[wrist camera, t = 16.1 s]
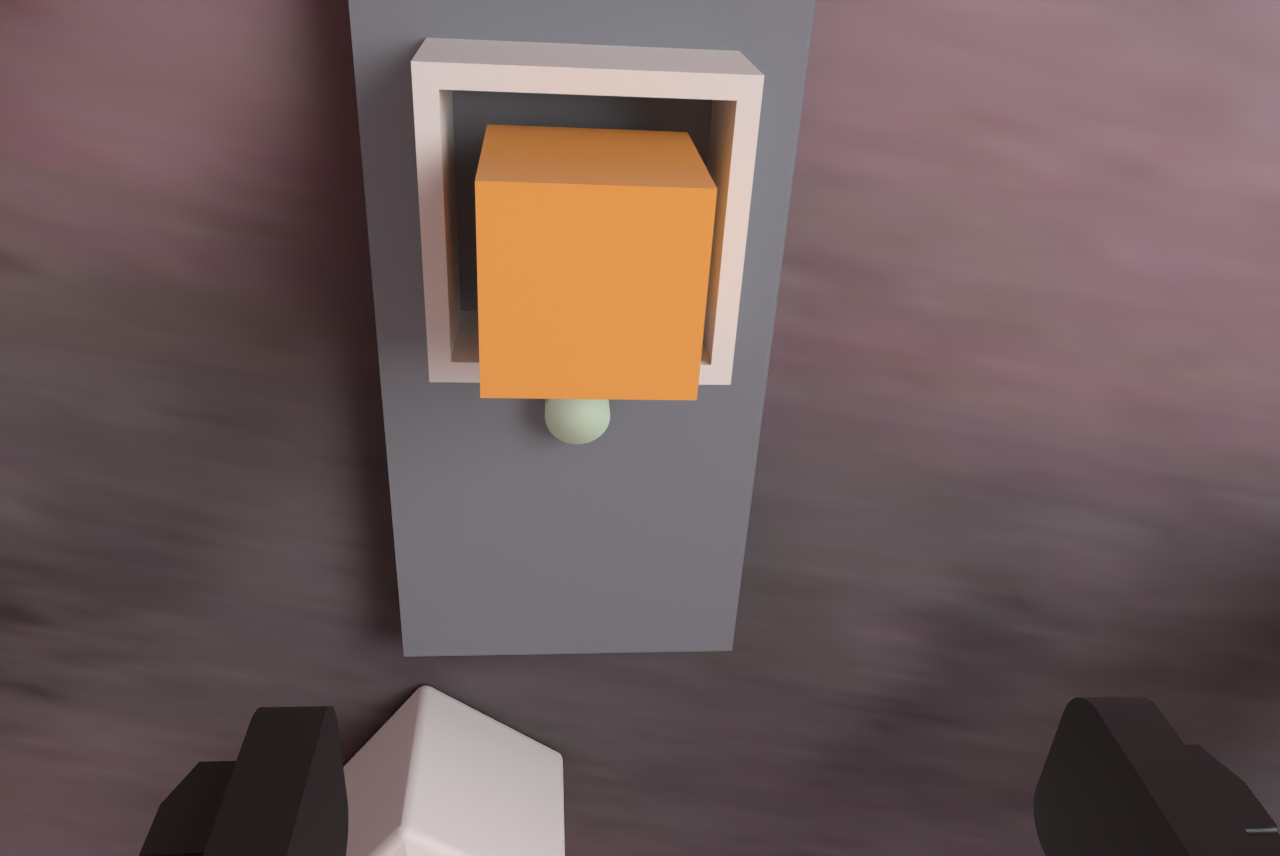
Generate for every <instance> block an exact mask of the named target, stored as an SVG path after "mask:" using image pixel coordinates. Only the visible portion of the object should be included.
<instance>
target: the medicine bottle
mask: <svg viewBox="0 0 1280 856" xmlns="http://www.w3.org/2000/svg"><path fill="white" fill-rule="evenodd" d="M343 769H344V777H345V785H346V792H347V800H348V840H347V850H346V856H565V843H564V796H563V760H562V756H561V754H559V753H558V752H556V751H554V750H552V749H550V748H549V747H547V746H545V745H543V744H541V743H539V742H537V741H535V740H533V739H531V738H529V737H527V736H525V735H523V734H521V733H520V732H518V731H516V730H514V729H512V728H510V727H508V726H506V725H504V724H502V723H500V722H498V721H496V720H494V719H493V718H491V717H489V716H487V715H485V714H483V713H481V712H479V711H477V710H475V709H473V708H471V707H469V706H467V705H465V704H464V703H462V702H460V701H458V700H456V699H454V698H452V697H450V696H448V695H446V694H444V693H442V692H440V691H438V690H436V689H435V688H433V687H431V686H427V685H425V686H421V687H419V688H418V689H417V690H416V691H415V692H414V693H413V694H412V696H411V697H410V698H409V699H408V700H407V701H406V702H405V703H404V704H403V705H402V706H401V707H400V708H399V709H398V710H397V711H396V712H395V713H394V714H393V715H392V717H391V718H390V719H389V720H388V721H387V722H386V723H385V724H384V725H383V726H382V727H381V728H380V729H379V730H378V731H377V732H376V733H375V734H374V735H373V736H372V737H371V739H370V740H369V741H368V742H367V743H366V744H365V745H364V746H363V747H362V748H361V749H360V750H359V751H358V752H357V753H356V754H355V755H354V756H353V757H352V758H351V760H350V761H349V762H348V763H347V764H346V765H345V766H344V767H343Z"/></svg>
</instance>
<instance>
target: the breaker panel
mask: <svg viewBox="0 0 1280 856" xmlns="http://www.w3.org/2000/svg"><path fill="white" fill-rule="evenodd" d="M348 2H349V14H350V26H351V38H352V50H353V61H354V73H355V85H356V97H357V109H358V120H359V132H360V144H361V156H362V168H363V179H364V191H365V203H366V215H367V227H368V238H369V250H370V262H371V274H372V286H373V298H374V309H375V321H376V333H377V345H378V357H379V368H380V380H381V392H382V404H383V416H384V427H385V439H386V451H387V463H388V475H389V486H390V498H391V510H392V522H393V534H394V545H395V557H396V569H397V581H398V593H399V604H400V616H401V628H402V640H403V652H404V657H411V656H467V655H523V654H579V653H635V652H691V651H732V646H733V638H734V631H735V623H736V615H737V608H738V600H739V592H740V584H741V577H742V569H743V561H744V553H745V546H746V538H747V530H748V522H749V515H750V507H751V499H752V491H753V484H754V476H755V468H756V461H757V453H758V445H759V437H760V430H761V422H762V414H763V406H764V399H765V391H766V383H767V375H768V368H769V360H770V352H771V344H772V337H773V329H774V321H775V313H776V306H777V298H778V290H779V283H780V275H781V267H782V259H783V252H784V244H785V236H786V228H787V221H788V213H789V205H790V197H791V190H792V182H793V174H794V166H795V159H796V151H797V143H798V136H799V128H800V120H801V112H802V105H803V97H804V89H805V81H806V74H807V66H808V58H809V50H810V43H811V35H812V27H813V19H814V12H815V4H816V0H348ZM487 124H492V125H518V126H544V127H570V128H596V129H621V130H647V131H673V132H688V134H689V136H690V138H691V140H692V142H693V143H694V145H695V147H696V149H697V151H698V153H699V155H700V157H701V159H702V161H703V162H704V164H705V166H706V168H707V170H708V172H709V174H710V176H711V178H712V179H713V181H714V183H715V185H716V187H717V198H716V209H715V219H714V229H713V240H712V250H711V260H710V271H709V281H708V292H707V302H706V312H705V323H704V333H703V343H702V354H701V364H700V374H699V385H698V395H697V400H612V399H523V398H480V368H479V327H478V287H477V247H476V206H475V178H476V173H477V169H478V164H479V159H480V155H481V150H482V145H483V141H484V136H485V132H486V127H487Z"/></svg>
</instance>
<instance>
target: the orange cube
mask: <svg viewBox="0 0 1280 856" xmlns="http://www.w3.org/2000/svg"><path fill="white" fill-rule="evenodd" d="M716 198H717V187H716V185H715V183H714V181H713V179H712V178H711V176H710V174H709V172H708V170H707V168H706V166H705V164H704V162H703V161H702V159H701V157H700V155H699V153H698V151H697V149H696V147H695V145H694V143H693V142H692V140H691V138H690V136H689V134H688V132H673V131H647V130H621V129H596V128H570V127H544V126H518V125H492V124H487V127H486V132H485V136H484V141H483V145H482V150H481V155H480V159H479V164H478V169H477V173H476V178H475V206H476V247H477V287H478V327H479V368H480V398H523V399H612V400H697V395H698V385H699V374H700V364H701V354H702V343H703V333H704V323H705V312H706V302H707V292H708V281H709V271H710V260H711V250H712V240H713V229H714V219H715V209H716Z"/></svg>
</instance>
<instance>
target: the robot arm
mask: <svg viewBox="0 0 1280 856" xmlns="http://www.w3.org/2000/svg"><path fill="white" fill-rule="evenodd" d="M1034 818H1035V825H1036V830H1037V834H1038V838H1039V840H1040V843H1041V846H1042V848H1043V851H1044V853H1045V855H1046V856H1280V835H1279V834H1278V831H1277V825H1276V824H1275V822H1274V821H1273V820H1272V818H1271V817H1270V816H1269V814H1268V813H1267V812H1266V810H1265V809H1264V808H1263V806H1262V805H1261V804H1260V802H1259V801H1258V800H1257V798H1256V797H1255V796H1254V794H1253V793H1252V792H1251V790H1250V789H1249V788H1248V786H1247V785H1246V784H1245V782H1244V781H1242V780H1241V779H1240V778H1239V777H1237V776H1236V775H1235V774H1234V773H1233V772H1231V771H1230V770H1229V769H1228V768H1226V767H1225V766H1224V765H1223V764H1221V763H1220V762H1219V761H1218V760H1216V759H1215V758H1214V757H1213V756H1212V755H1210V754H1209V753H1208V752H1207V751H1205V750H1204V749H1203V748H1202V747H1200V746H1199V745H1184V743H1183V742H1182V741H1181V739H1180V738H1179V736H1178V735H1177V734H1176V732H1175V731H1174V729H1173V728H1172V727H1171V725H1170V724H1169V722H1168V721H1167V720H1166V718H1165V717H1164V715H1163V714H1162V713H1161V711H1160V710H1159V709H1158V708H1157V706H1156V705H1155V704H1154V703H1153V702H1151V701H1150V700H1148V699H1147V698H1144V697H1087V698H1074V699H1072V700H1071V701H1070V702H1069V703H1068V704H1067V706H1066V708H1065V710H1064V712H1063V715H1062V718H1061V721H1060V724H1059V726H1058V729H1057V732H1056V735H1055V737H1054V740H1053V743H1052V746H1051V748H1050V751H1049V754H1048V757H1047V760H1046V762H1045V765H1044V768H1043V771H1042V773H1041V776H1040V779H1039V782H1038V784H1037V787H1036V791H1035V797H1034ZM347 840H348V800H347V792H346V785H345V777H344V769H343V762H342V754H341V746H340V739H339V731H338V723H337V717H336V713H335V710H334V708H333V707H332V706H323V707H260V708H258V709H257V710H256V712H255V713H254V715H253V717H252V719H251V722H250V724H249V727H248V730H247V733H246V736H245V738H244V741H243V744H242V747H241V750H240V753H239V755H238V758H237V761H214V762H199V763H198V764H197V765H196V766H195V767H194V768H193V769H192V771H191V772H190V773H189V774H188V775H187V776H186V777H185V778H184V779H183V780H182V781H181V783H180V784H179V785H178V786H177V787H176V788H175V789H174V790H173V791H172V792H171V794H170V795H169V796H168V797H167V798H166V799H165V800H164V801H163V802H162V803H161V804H160V806H159V809H158V811H157V814H156V816H155V818H154V821H153V823H152V826H151V828H150V830H149V833H148V835H147V838H146V840H145V842H144V845H143V847H142V850H141V852H140V854H139V856H346V850H347Z"/></svg>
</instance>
